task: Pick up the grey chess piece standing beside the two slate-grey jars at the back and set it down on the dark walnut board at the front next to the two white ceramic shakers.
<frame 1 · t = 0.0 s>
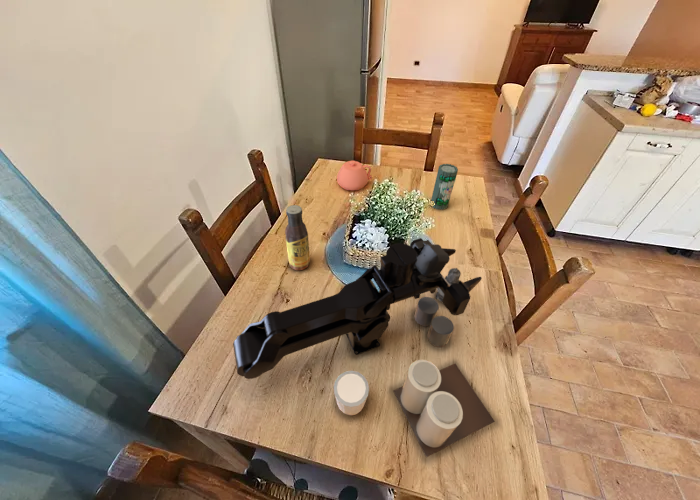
hand: (467, 264, 70), 17 cm above the table, tool horizontal, fingers open, 9 cm apart
walnut board: (441, 406, 63), on the table
grey jar 2: (437, 338, 75), on the table
white shaker front: (431, 429, 60), resting on walnut board
sugar bowl: (354, 185, 124), on the table
can: (438, 205, 114), on the table
sauce bottle: (300, 264, 92), on the table
grey chess piece: (445, 298, 84), on the table
grey jar 1: (423, 318, 79), on the table
white candle jar: (350, 401, 64), on the table
white shaker back: (414, 398, 64), resting on walnut board
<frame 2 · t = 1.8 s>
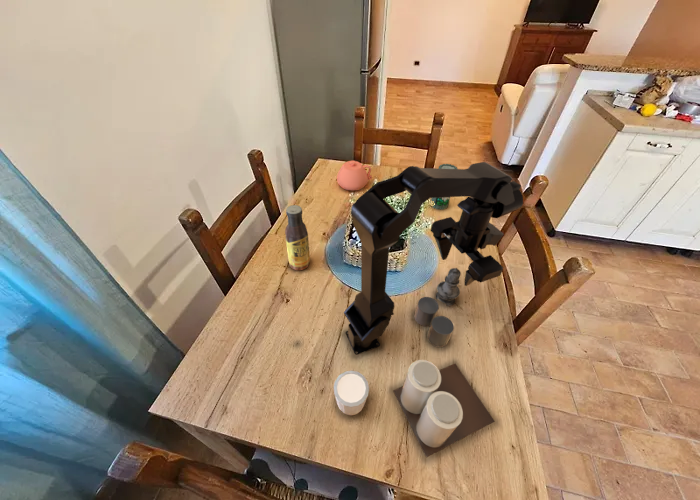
hand: (455, 271, 76), 11 cm above the table, tool pointing down, fingers open, 9 cm apart
nothing on the table moved.
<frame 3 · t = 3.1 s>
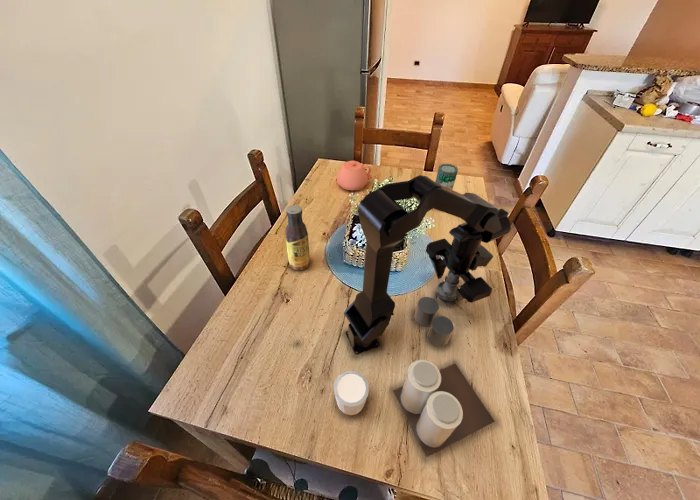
hand: (448, 289, 81), 4 cm above the table, tool pointing down, fingers closed on grey chess piece, 8 cm apart
grey chess piece: (445, 298, 84), on the table, touching gripper
everything else where it was.
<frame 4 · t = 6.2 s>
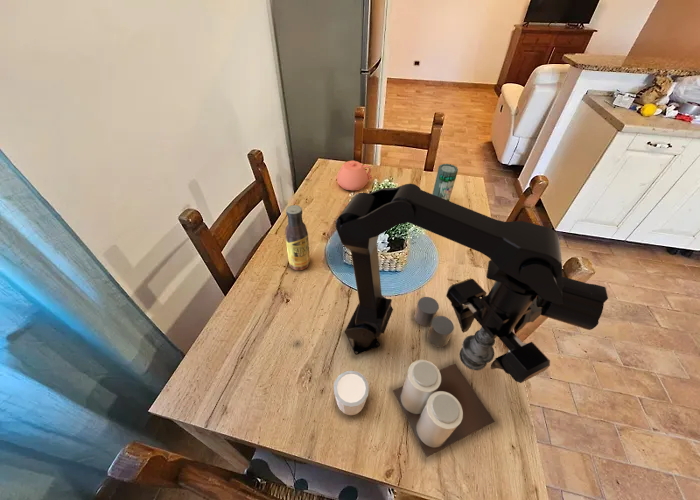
hand: (478, 348, 59), 13 cm above the table, tool pointing down, fingers closed on grey chess piece, 8 cm apart
grey chess piece: (472, 358, 61), point 9 cm above the table, touching gripper
everything else where it was.
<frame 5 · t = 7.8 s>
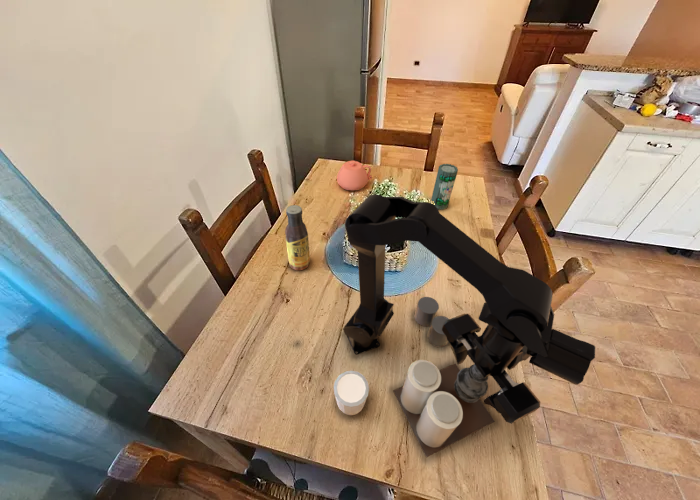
hand: (472, 381, 60), 7 cm above the table, tool pointing down, fingers closed on grey chess piece, 8 cm apart
grey chess piece: (467, 389, 63), point 3 cm above the table, touching gripper
everything else where it was.
when the fingers open (4 cm above the table, at t = 9.3 s): grey chess piece stays where it is, resting on walnut board.
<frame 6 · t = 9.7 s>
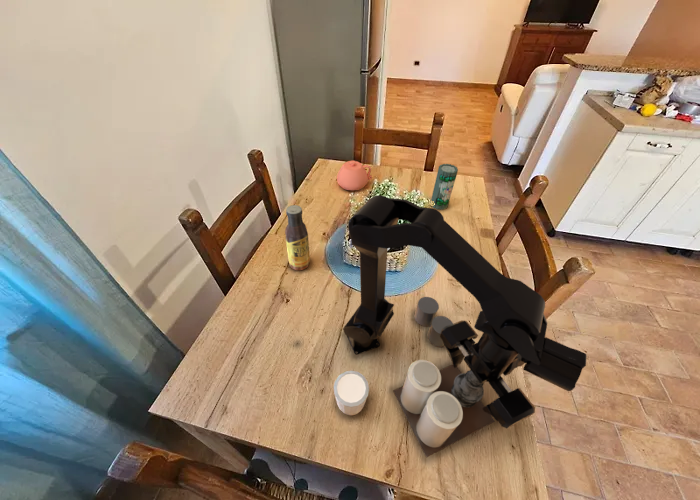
hand: (469, 387, 62), 5 cm above the table, tool pointing down, fingers open, 9 cm apart
grey chess piece: (463, 394, 65), resting on walnut board
everything else where it was.
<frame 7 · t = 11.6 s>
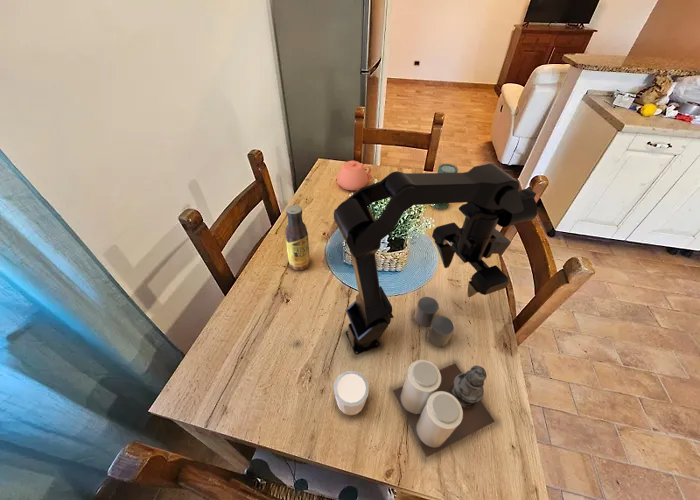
hand: (457, 281, 71), 13 cm above the table, tool pointing down, fingers open, 9 cm apart
nothing on the table moved.
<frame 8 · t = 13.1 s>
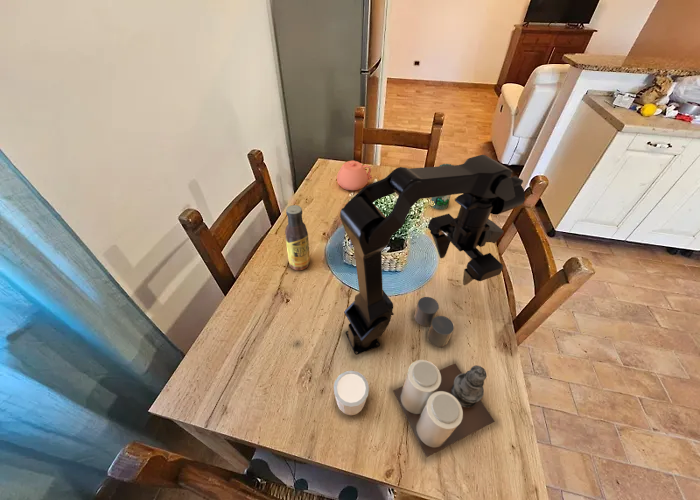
hand: (453, 270, 73), 13 cm above the table, tool pointing down, fingers open, 9 cm apart
nothing on the table moved.
at the end: grey chess piece inside the target area on the walnut board (5.6 cm from its centre), point 0.3 cm above the walnut board's base; grey chess piece tilted 0°; grey chess piece 10.5 cm from the white shaker front (horizontally) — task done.
